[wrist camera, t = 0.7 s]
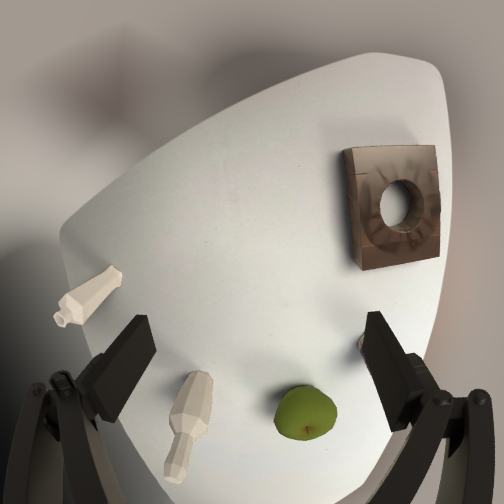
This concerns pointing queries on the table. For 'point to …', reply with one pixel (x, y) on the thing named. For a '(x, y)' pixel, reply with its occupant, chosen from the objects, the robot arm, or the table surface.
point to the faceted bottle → (188, 423)
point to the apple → (305, 414)
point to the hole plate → (369, 195)
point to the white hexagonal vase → (87, 297)
